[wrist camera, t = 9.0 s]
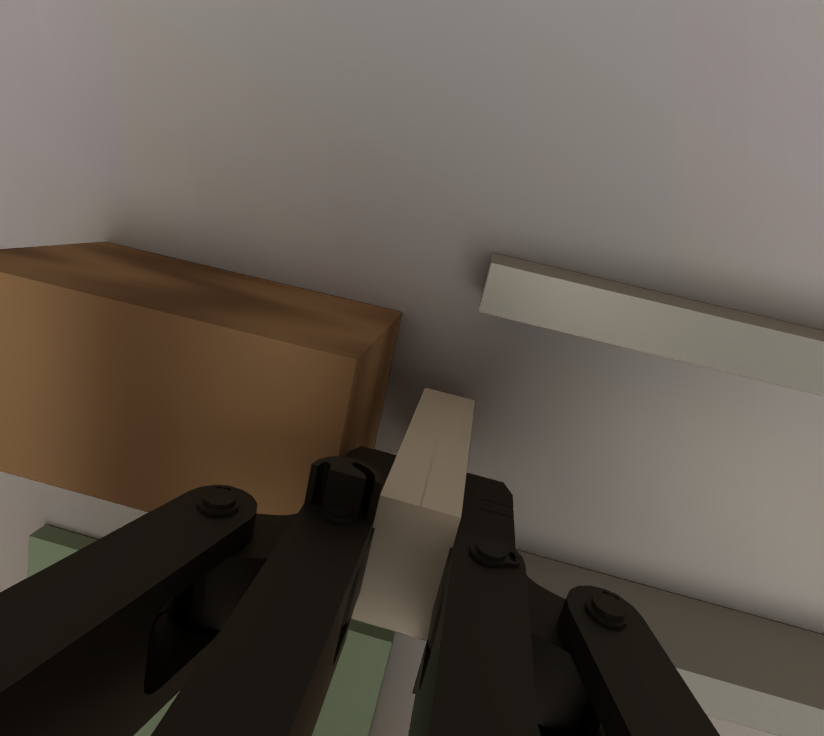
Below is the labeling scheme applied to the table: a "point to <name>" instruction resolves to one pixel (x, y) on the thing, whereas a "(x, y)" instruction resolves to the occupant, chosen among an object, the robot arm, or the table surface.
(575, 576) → the guide channel
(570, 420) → the table surface
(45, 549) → the green mat
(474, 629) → the robot arm
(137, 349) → the light brown wooden block
